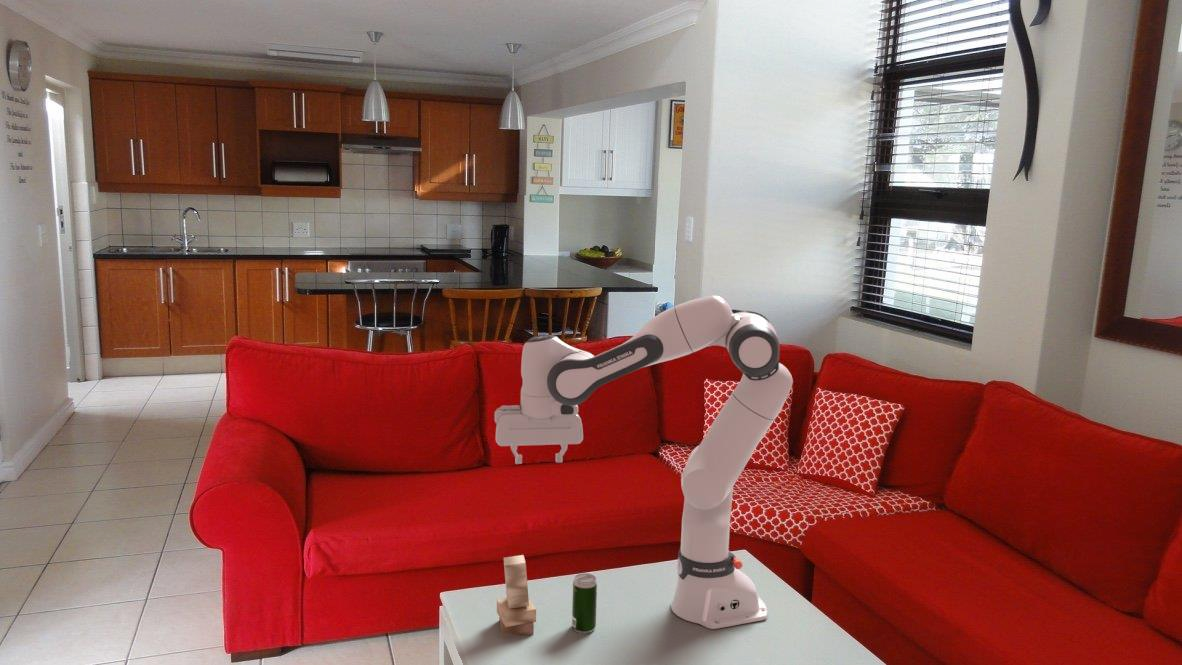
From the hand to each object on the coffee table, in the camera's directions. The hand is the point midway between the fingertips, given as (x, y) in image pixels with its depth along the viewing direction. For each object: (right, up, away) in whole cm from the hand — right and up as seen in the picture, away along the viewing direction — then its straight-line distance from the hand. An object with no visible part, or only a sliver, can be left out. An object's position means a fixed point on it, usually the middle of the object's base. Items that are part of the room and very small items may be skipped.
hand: (538, 462), depth 196 cm
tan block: (-4, -30, -9) cm, 31 cm away
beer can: (+11, -36, -7) cm, 38 cm away
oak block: (-5, -33, -8) cm, 35 cm away
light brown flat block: (-5, -36, -8) cm, 37 cm away
